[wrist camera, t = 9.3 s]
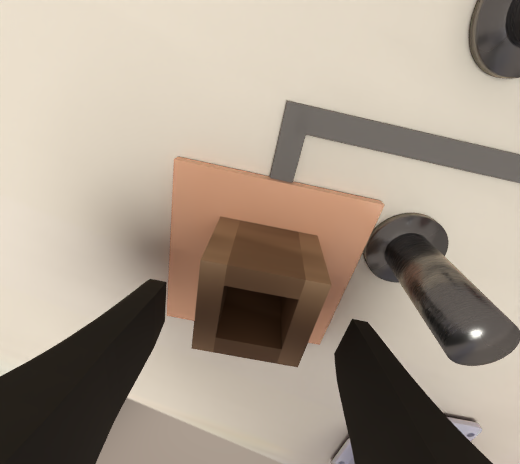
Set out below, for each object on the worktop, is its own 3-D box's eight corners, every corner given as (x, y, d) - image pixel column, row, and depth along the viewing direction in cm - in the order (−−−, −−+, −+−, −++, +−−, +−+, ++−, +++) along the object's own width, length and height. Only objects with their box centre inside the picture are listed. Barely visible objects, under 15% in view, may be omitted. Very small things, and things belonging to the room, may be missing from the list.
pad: (318, 337, 16) (319, 344, 15) (169, 309, 15) (166, 315, 15) (380, 200, 12) (384, 205, 11) (178, 156, 11) (174, 159, 11)
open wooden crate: (293, 307, 14) (297, 366, 11) (210, 291, 14) (191, 348, 11) (317, 235, 12) (331, 284, 9) (220, 216, 12) (200, 259, 9)
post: (420, 283, 14) (500, 389, 9) (353, 269, 13) (396, 370, 8) (458, 222, 12) (586, 311, 7) (382, 205, 12) (458, 285, 7)
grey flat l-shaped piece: (520, 242, 12) (524, 244, 12) (267, 187, 12) (267, 188, 11) (579, 168, 10) (584, 169, 10) (287, 100, 10) (287, 100, 10)
